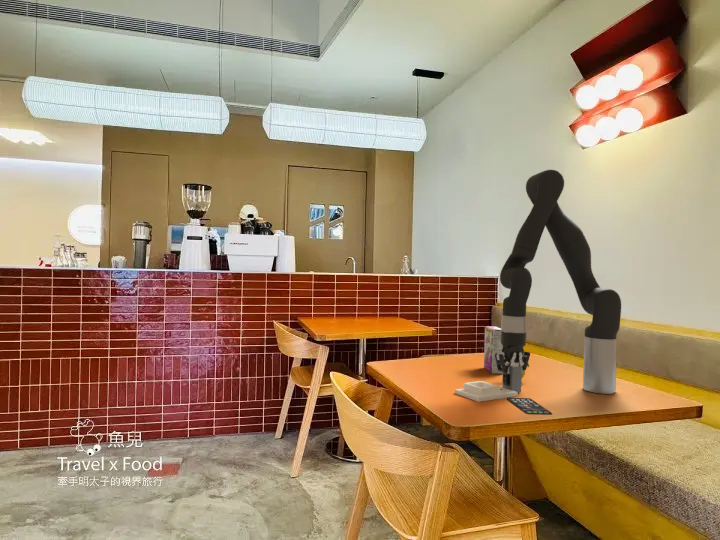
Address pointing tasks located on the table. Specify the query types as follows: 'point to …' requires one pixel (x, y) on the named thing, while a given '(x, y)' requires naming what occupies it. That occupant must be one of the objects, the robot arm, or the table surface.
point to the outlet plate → (484, 391)
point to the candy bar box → (492, 348)
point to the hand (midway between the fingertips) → (511, 384)
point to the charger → (514, 378)
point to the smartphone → (529, 406)
